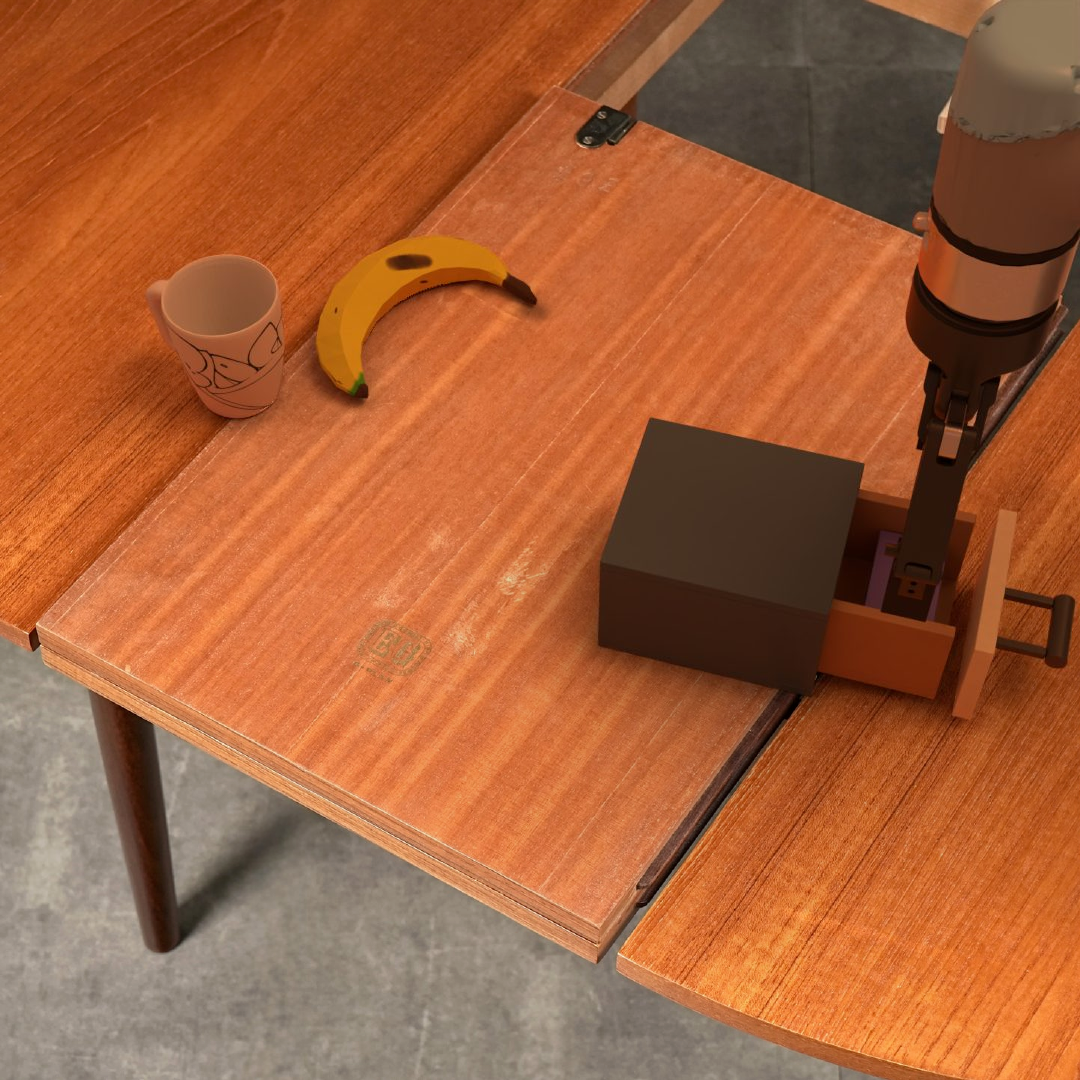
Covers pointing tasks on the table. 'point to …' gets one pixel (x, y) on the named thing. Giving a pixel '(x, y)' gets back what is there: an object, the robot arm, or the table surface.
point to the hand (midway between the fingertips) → (921, 528)
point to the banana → (397, 295)
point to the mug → (224, 331)
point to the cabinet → (727, 555)
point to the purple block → (882, 572)
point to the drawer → (923, 647)
